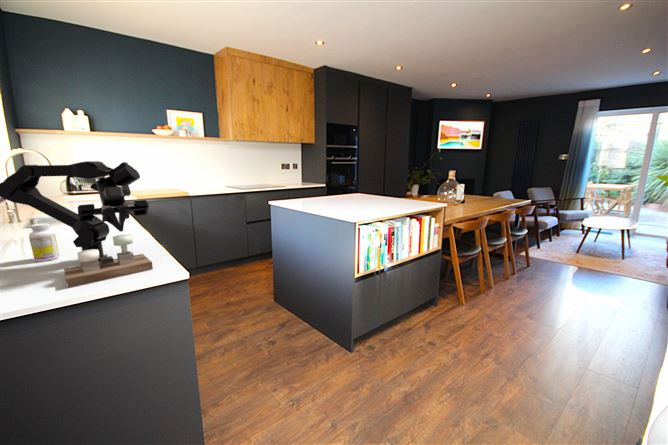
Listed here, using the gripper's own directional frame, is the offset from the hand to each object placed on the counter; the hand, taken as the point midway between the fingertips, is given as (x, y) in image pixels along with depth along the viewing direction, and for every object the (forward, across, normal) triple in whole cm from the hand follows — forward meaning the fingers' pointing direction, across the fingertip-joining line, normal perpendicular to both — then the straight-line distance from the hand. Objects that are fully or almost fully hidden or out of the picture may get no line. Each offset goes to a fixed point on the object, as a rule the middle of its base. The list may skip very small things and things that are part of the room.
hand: (121, 230), depth 96 cm
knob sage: (+6, 0, +4) cm, 7 cm away
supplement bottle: (-13, -18, +32) cm, 39 cm away
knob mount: (+10, -5, +9) cm, 14 cm away
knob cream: (+8, -9, +7) cm, 14 cm away
